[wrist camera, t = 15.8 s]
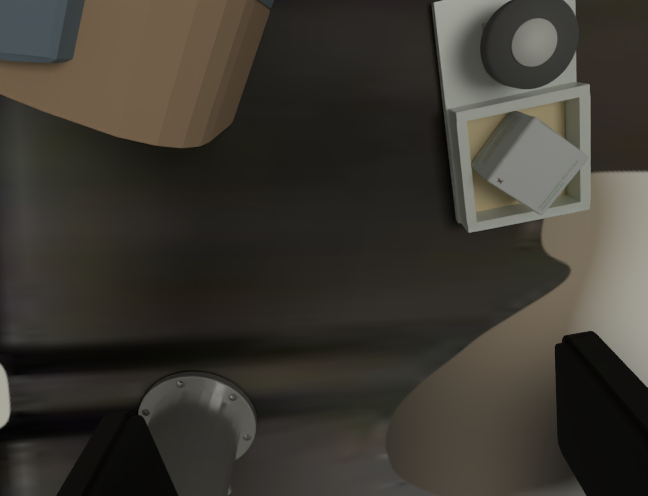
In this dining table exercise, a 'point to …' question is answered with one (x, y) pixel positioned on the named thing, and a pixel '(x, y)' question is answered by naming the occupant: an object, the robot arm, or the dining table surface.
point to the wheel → (529, 42)
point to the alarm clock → (132, 63)
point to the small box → (528, 161)
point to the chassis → (500, 117)
